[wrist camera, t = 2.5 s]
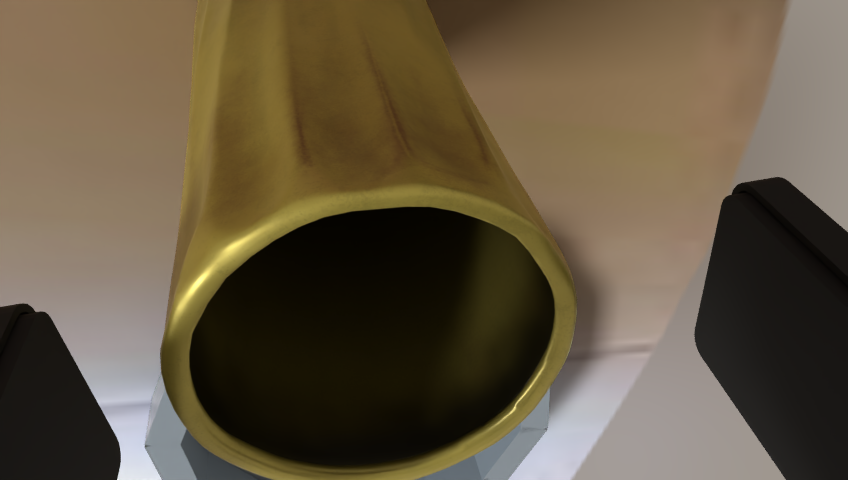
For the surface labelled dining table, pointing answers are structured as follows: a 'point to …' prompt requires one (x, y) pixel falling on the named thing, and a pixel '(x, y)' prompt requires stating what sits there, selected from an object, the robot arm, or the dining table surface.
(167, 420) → the round tray
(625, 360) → the dining table surface
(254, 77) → the vase
